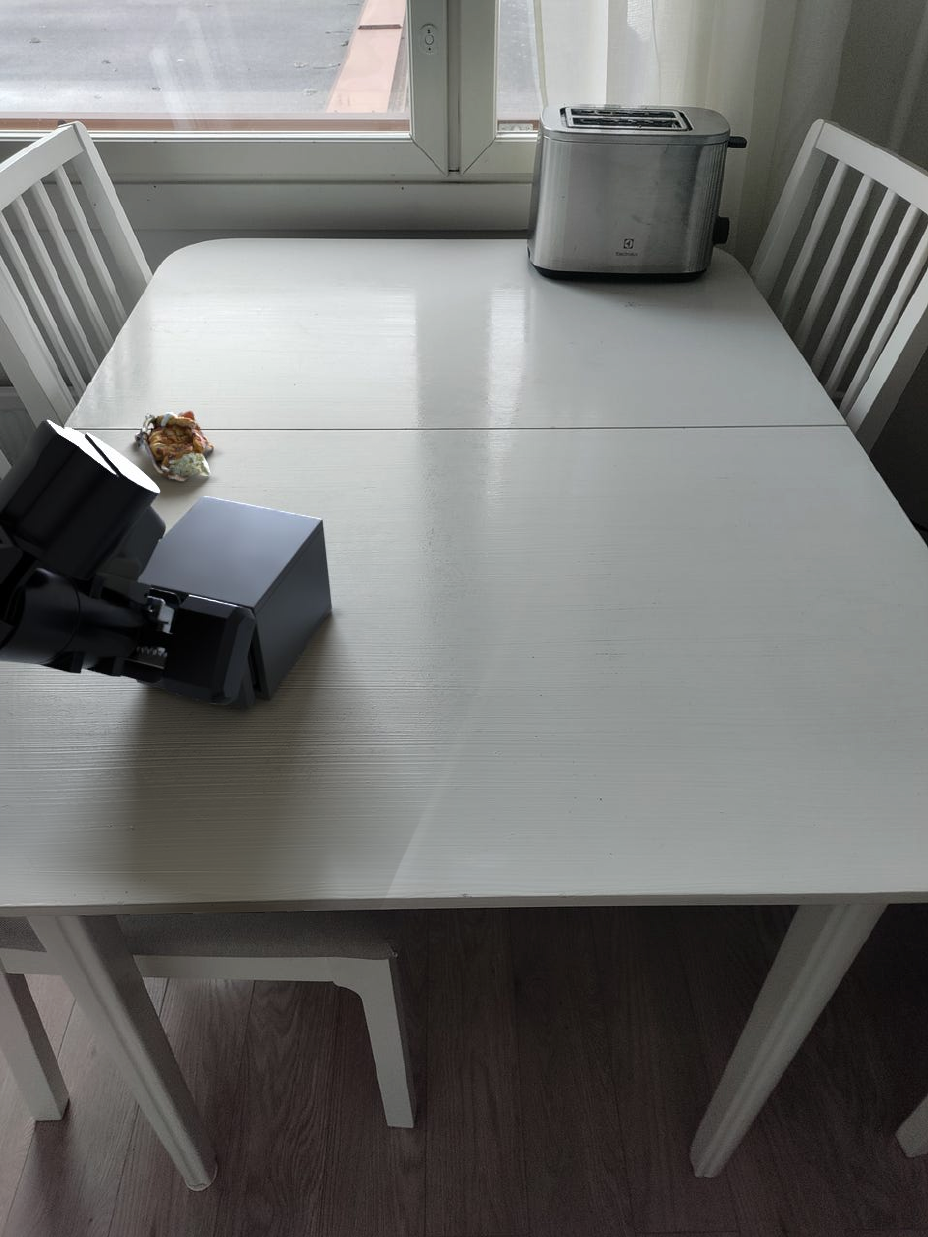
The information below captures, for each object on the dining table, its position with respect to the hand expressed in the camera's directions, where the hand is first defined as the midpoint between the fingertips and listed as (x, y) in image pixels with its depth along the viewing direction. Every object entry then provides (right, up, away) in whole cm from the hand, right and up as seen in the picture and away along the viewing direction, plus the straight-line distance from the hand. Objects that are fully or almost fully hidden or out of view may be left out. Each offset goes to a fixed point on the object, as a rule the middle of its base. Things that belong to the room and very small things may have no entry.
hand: (175, 637), depth 69 cm
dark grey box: (+2, 0, +11) cm, 11 cm away
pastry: (-10, +19, +34) cm, 40 cm away
